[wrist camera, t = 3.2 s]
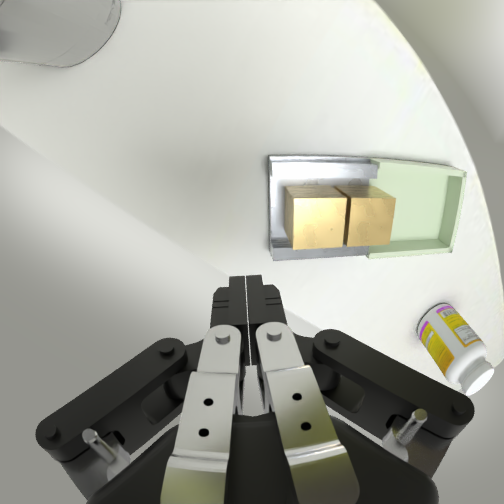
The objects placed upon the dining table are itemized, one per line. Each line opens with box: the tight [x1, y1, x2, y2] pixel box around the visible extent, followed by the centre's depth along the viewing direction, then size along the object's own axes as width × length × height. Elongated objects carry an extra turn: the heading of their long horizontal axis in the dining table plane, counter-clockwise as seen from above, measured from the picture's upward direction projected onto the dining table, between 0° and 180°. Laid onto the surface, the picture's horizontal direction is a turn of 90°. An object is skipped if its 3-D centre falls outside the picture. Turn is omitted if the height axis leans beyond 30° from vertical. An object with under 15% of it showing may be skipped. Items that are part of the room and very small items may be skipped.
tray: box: [366, 157, 467, 259], centre depth 25 cm, size 11×9×3 cm
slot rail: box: [269, 155, 378, 261], centre depth 24 cm, size 9×9×2 cm
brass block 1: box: [284, 185, 347, 250], centre depth 23 cm, size 4×4×4 cm
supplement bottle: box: [418, 304, 494, 396], centre depth 28 cm, size 7×7×13 cm
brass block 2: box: [334, 185, 396, 247], centre depth 23 cm, size 4×4×4 cm
